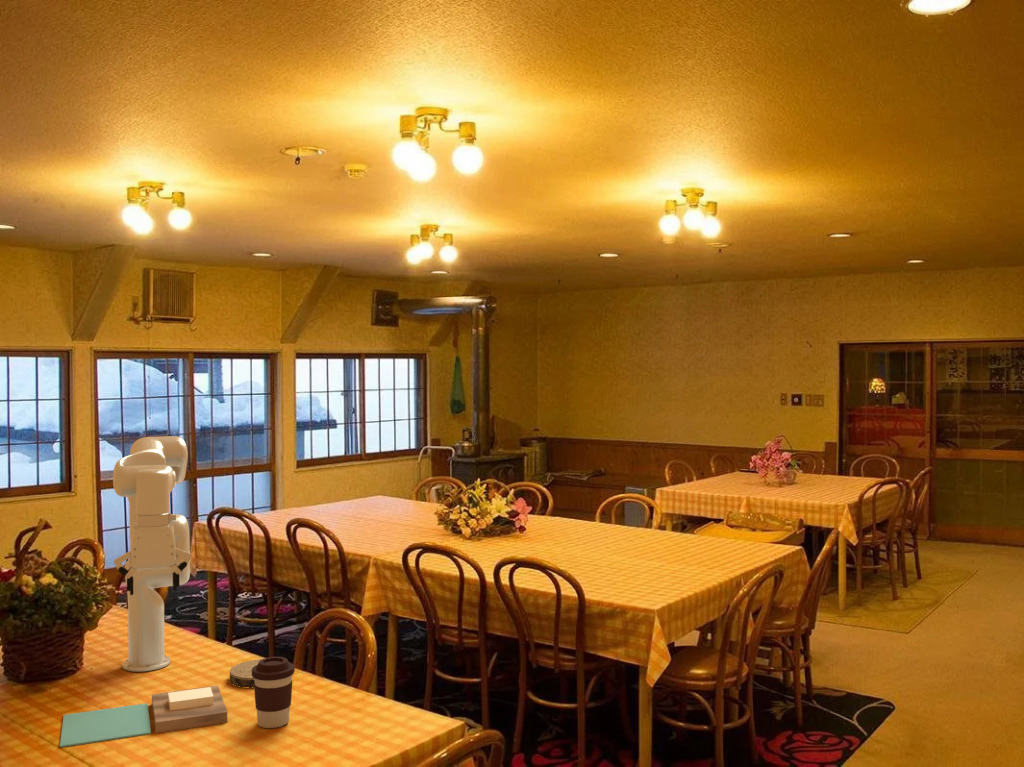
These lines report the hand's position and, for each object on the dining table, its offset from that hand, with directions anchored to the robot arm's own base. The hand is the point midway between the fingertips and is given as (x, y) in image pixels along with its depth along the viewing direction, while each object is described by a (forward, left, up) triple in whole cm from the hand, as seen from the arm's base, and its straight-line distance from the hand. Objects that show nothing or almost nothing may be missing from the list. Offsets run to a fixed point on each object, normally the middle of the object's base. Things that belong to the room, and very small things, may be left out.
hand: (153, 591), depth 219 cm
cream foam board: (-2, +9, -29) cm, 30 cm away
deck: (-2, +8, -31) cm, 32 cm away
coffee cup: (+13, +26, -31) cm, 43 cm away
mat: (-2, -10, -31) cm, 33 cm away
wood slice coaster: (-21, +28, -32) cm, 47 cm away
